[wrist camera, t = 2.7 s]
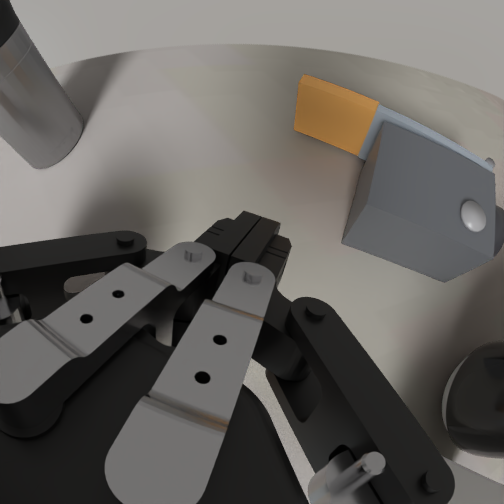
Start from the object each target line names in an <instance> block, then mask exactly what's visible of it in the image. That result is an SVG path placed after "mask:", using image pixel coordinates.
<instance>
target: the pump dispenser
mask: <svg viewBox="0 0 504 504" xmlns="http://www.w3.org/2000/svg"><path fill="white" fill-rule="evenodd" d="M442 417H443V421H444V425H445V427H446V429H447V431H448V433H449V436H450V438H451V440H452V441H453V443H454V444H455V445H456V446H457V447H458V448H459V449H461V450H462V451H464V452H467V453H469V454H472V455H476V456H481V457H488V458H500V459H504V341H494V342H489V343H486V344H484V345H482V346H480V347H478V348H477V349H476V350H474V351H473V352H472V353H471V354H470V355H469V356H467V357H466V358H465V359H464V360H463V361H462V362H461V363H460V364H459V365H458V366H457V367H456V369H455V370H454V371H453V373H452V375H451V376H450V378H449V380H448V382H447V385H446V388H445V391H444V394H443V400H442Z"/></svg>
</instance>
